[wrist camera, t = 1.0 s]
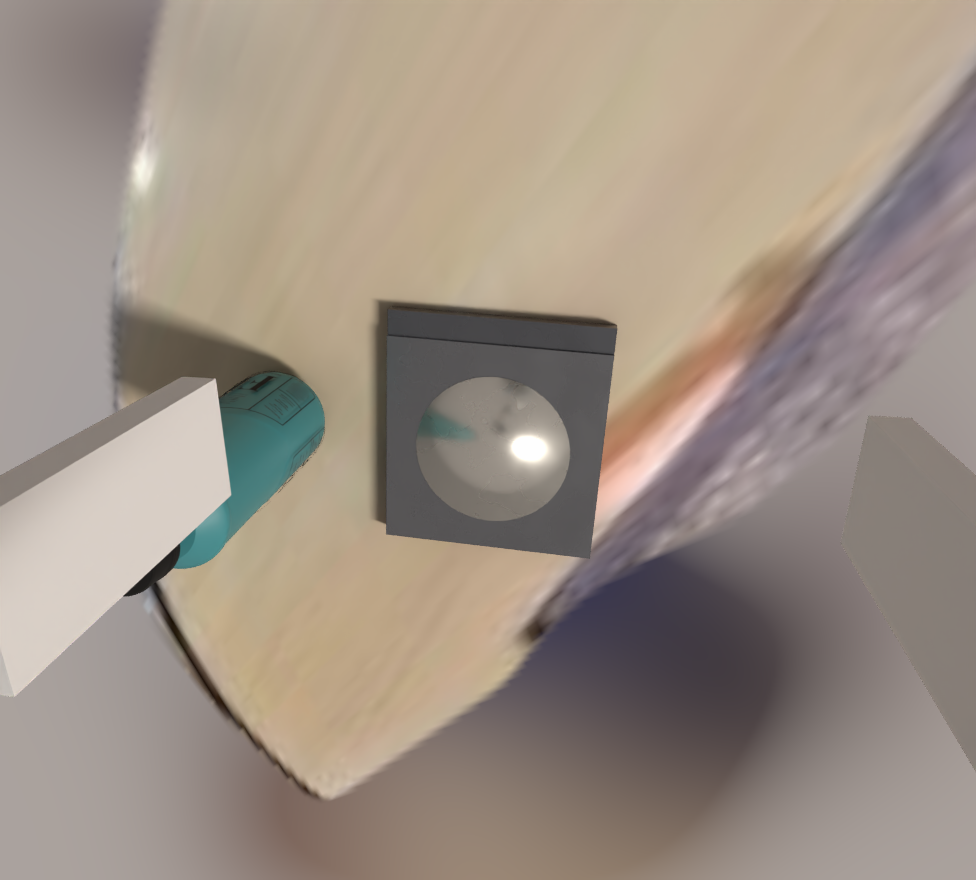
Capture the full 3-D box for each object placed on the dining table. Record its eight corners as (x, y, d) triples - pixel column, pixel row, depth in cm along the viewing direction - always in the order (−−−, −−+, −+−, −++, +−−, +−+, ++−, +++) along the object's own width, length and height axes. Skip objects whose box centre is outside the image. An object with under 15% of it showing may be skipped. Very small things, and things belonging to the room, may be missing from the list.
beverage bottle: (301, 345, 48) (113, 464, 29) (356, 430, 49) (210, 594, 31) (226, 388, 50) (4, 526, 31) (280, 469, 51) (101, 645, 33)
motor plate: (392, 306, 46) (386, 310, 45) (616, 325, 44) (617, 329, 43) (390, 526, 52) (386, 534, 51) (589, 549, 50) (589, 558, 49)
